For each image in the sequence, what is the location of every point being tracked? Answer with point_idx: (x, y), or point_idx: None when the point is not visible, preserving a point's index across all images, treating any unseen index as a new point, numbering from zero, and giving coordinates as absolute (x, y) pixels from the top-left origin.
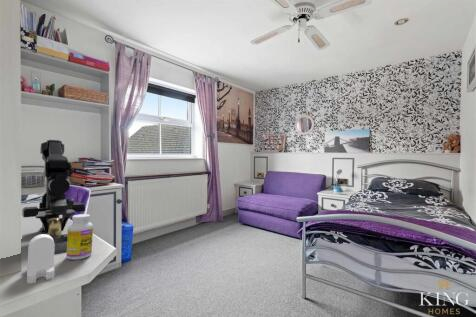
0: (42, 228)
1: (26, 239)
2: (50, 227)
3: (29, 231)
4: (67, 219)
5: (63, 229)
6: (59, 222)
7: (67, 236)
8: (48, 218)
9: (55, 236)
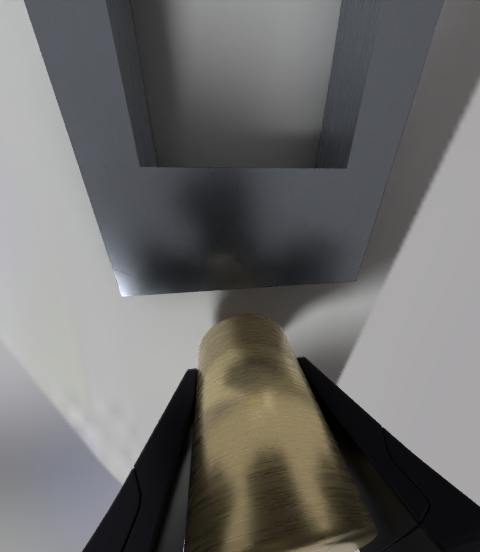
0: None
1: (341, 374)
2: (307, 393)
3: None
4: (94, 549)
5: (181, 380)
6: (227, 467)
7: (152, 179)
8: None
9: (259, 263)
